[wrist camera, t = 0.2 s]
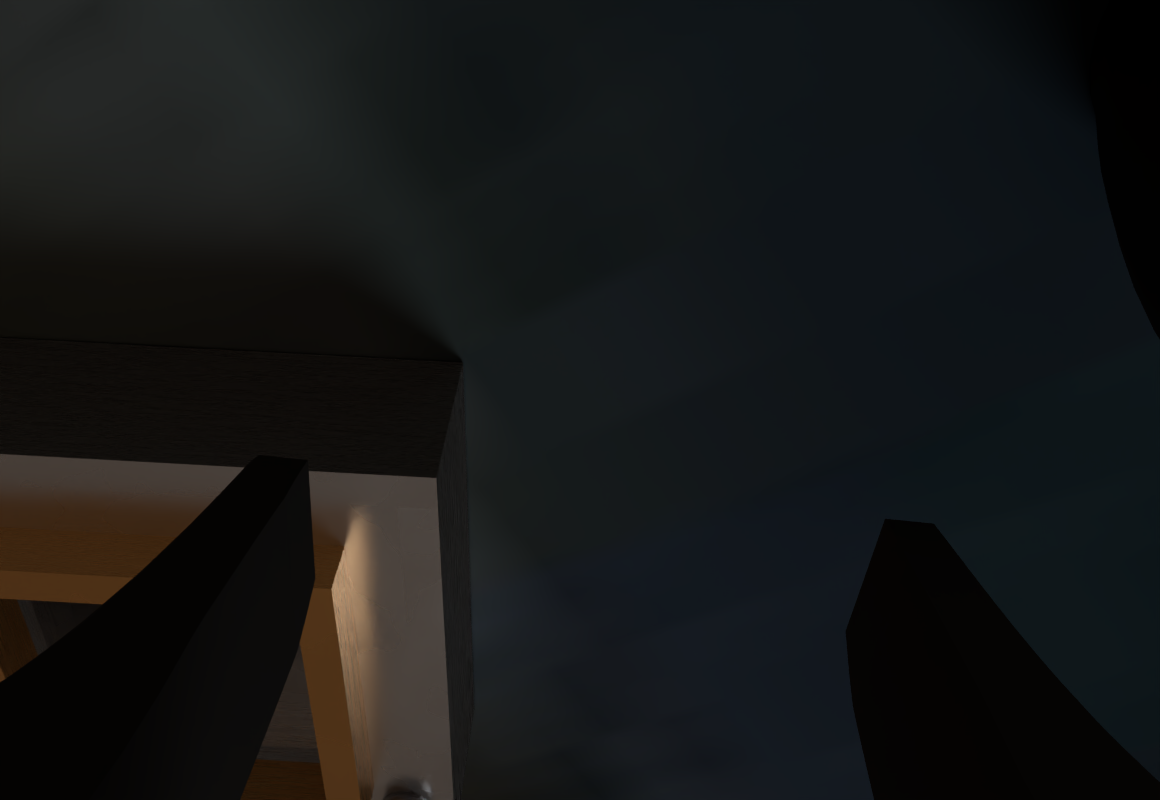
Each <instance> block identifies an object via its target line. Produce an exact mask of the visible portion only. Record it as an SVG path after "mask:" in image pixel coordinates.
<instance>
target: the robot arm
mask: <svg viewBox="0 0 1160 800" xmlns="http://www.w3.org/2000/svg"><path fill="white" fill-rule="evenodd" d="M314 583H315V563H314V547H313V532H312V516H311V500H310V484H309V468H308V460H303V459H293V458H283V457H273V456H264V455H258V456H257V457H255V458H254V459H253V460H251V461H250V462H249V463H248V464H247V465H246V466H245V467H244V469H243V470H242V471H241V472H240V473H239V474H238V475H237V476H236V477H235V478H234V479H233V480H232V481H231V482H230V483H229V484H228V486H227V487H226V488H225V489H224V490H223V491H222V492H221V493H220V494H219V495H218V496H217V497H216V498H215V499H214V500H213V501H212V502H211V503H210V504H209V505H208V506H207V507H206V508H205V509H204V510H203V511H202V512H201V514H200V515H199V516H198V517H197V518H196V519H195V520H194V521H193V522H192V523H191V524H190V525H189V526H188V527H187V528H186V529H185V530H184V531H182V532H181V533H180V534H179V535H178V536H177V537H176V538H175V539H174V540H173V541H172V542H171V543H170V544H169V545H168V546H167V547H166V548H165V549H164V550H163V551H162V552H161V553H159V554H158V555H157V556H156V557H155V558H154V559H153V560H152V561H151V562H150V563H149V564H148V565H147V566H146V567H145V568H144V569H143V570H141V571H140V572H139V573H138V574H137V575H136V576H135V577H134V578H132V579H131V580H130V581H129V582H128V583H127V584H125V585H124V586H123V587H122V588H121V589H120V590H119V591H117V592H116V593H115V594H114V595H113V596H112V597H110V598H109V599H108V600H107V601H106V602H105V603H103V604H102V605H101V606H100V607H99V608H98V609H97V610H95V611H94V612H93V613H92V614H91V615H89V616H88V617H87V618H86V619H85V620H83V621H82V622H81V623H80V624H78V625H77V626H76V627H75V628H73V629H72V630H71V631H70V632H68V633H67V634H66V635H64V636H63V637H62V638H61V639H59V640H58V641H57V642H55V643H54V644H53V645H51V646H50V647H49V648H47V649H46V650H45V651H43V652H42V653H41V654H39V655H38V656H37V657H35V658H34V659H32V660H31V661H30V662H28V663H27V664H26V665H24V666H23V667H22V668H20V669H19V670H17V671H16V672H14V673H13V674H12V675H10V676H9V677H7V678H6V679H4V680H3V681H1V682H0V800H240V799H241V796H242V794H243V791H244V789H245V786H246V784H247V781H248V778H249V776H250V773H251V771H252V768H253V766H254V763H255V760H256V758H257V755H258V753H259V750H260V748H261V745H262V742H263V740H264V737H265V735H266V732H267V730H268V727H269V724H270V722H271V719H272V717H273V714H274V712H275V709H276V706H277V704H278V701H279V699H280V696H281V693H282V691H283V688H284V685H285V683H286V680H287V678H288V675H289V672H290V670H291V667H292V664H293V662H294V659H295V656H296V654H297V651H298V647H299V643H300V639H301V635H302V631H303V628H304V624H305V620H306V616H307V612H308V607H309V603H310V599H311V595H312V591H313V587H314ZM846 640H847V652H848V663H849V675H850V684H851V693H852V702H853V708H854V713H855V718H856V722H857V727H858V731H859V736H860V740H861V745H862V749H863V753H864V758H865V762H866V767H867V771H868V775H869V779H870V784H871V788H872V792H873V796H874V800H1160V782H1159V781H1158V780H1157V779H1155V778H1154V777H1153V776H1152V775H1151V774H1150V773H1149V772H1148V771H1147V770H1146V769H1145V768H1144V767H1143V766H1142V765H1141V764H1140V763H1139V762H1138V761H1137V760H1135V759H1134V758H1133V757H1132V756H1131V755H1130V754H1129V753H1128V752H1127V751H1126V750H1125V749H1124V748H1123V747H1122V746H1121V745H1120V744H1119V743H1118V742H1117V741H1116V740H1115V739H1114V738H1113V737H1112V736H1111V735H1110V734H1109V733H1108V732H1107V731H1106V730H1105V729H1104V728H1103V727H1102V726H1101V725H1100V724H1099V723H1098V722H1097V721H1096V720H1095V719H1094V718H1093V717H1092V716H1091V714H1090V713H1089V712H1088V711H1087V710H1086V709H1085V708H1084V707H1083V706H1082V705H1081V704H1080V702H1079V701H1078V700H1077V699H1076V698H1075V697H1074V696H1073V695H1072V694H1071V693H1070V692H1069V691H1068V689H1067V688H1066V687H1065V686H1064V685H1063V684H1062V683H1061V682H1060V681H1059V680H1058V678H1057V677H1056V676H1055V675H1054V674H1053V673H1052V671H1051V670H1050V669H1049V668H1048V667H1047V666H1046V665H1045V663H1044V662H1043V661H1042V660H1041V659H1040V658H1039V656H1038V655H1037V654H1036V653H1035V652H1034V651H1033V649H1032V648H1031V647H1030V646H1029V645H1028V643H1027V642H1026V641H1025V640H1024V638H1023V637H1022V636H1021V635H1020V634H1019V632H1018V631H1017V630H1016V629H1015V628H1014V626H1013V625H1012V624H1011V623H1010V621H1009V620H1008V619H1007V618H1006V616H1005V615H1004V614H1003V613H1002V611H1001V610H1000V609H999V608H998V606H997V605H996V604H995V603H994V601H993V600H992V599H991V597H990V596H989V595H988V594H987V592H986V591H985V590H984V588H983V587H982V586H981V585H980V583H979V582H978V581H977V579H976V578H975V577H974V575H973V574H972V573H971V572H970V570H969V569H968V568H967V566H966V565H965V564H964V562H963V561H962V560H961V558H960V557H959V556H958V555H957V553H956V552H955V551H954V549H953V548H952V547H951V545H950V544H949V543H948V542H947V540H946V539H945V538H944V536H943V535H942V534H941V533H940V531H939V530H938V529H937V527H936V526H935V525H934V524H931V523H921V522H911V521H901V520H891V519H885V521H884V524H883V527H882V529H881V532H880V535H879V538H878V541H877V544H876V547H875V549H874V552H873V555H872V558H871V561H870V564H869V567H868V569H867V572H866V575H865V578H864V581H863V584H862V586H861V589H860V592H859V595H858V598H857V601H856V604H855V606H854V609H853V612H852V615H851V618H850V621H849V624H848V626H847V629H846Z"/></svg>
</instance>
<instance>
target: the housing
mask: <svg viewBox="0 0 1160 800" xmlns="http://www.w3.org/2000/svg"><path fill="white" fill-rule="evenodd" d="M258 455H264V456H273V457H283V458H293V459H303V460H308V468H309V484H310V500H311V516H312V532H313V547H314V563H315V583H314V587H313V591H312V595H311V599H310V603H309V607H308V612H307V616H306V620H305V624H304V628H303V631H302V635H301V639H300V643H299V647H298V651H297V654H296V656H295V659H294V662H293V664H292V667H291V670H290V672H289V675H288V678H287V680H286V683H285V685H284V688H283V691H282V693H281V696H280V699H279V701H278V704H277V706H276V709H275V712H274V714H273V717H272V719H271V722H270V724H269V727H268V730H267V732H266V735H265V737H264V740H263V742H262V745H261V748H260V750H259V753H258V755H257V758H256V760H255V763H254V766H253V768H252V771H251V773H250V776H249V778H248V781H247V784H246V786H245V789H244V791H243V794H242V796H241V799H240V800H461V794H462V788H463V781H464V774H465V767H466V761H467V754H468V747H469V740H470V734H471V727H472V720H473V713H474V690H473V659H472V628H471V596H470V565H469V534H468V503H467V472H466V441H465V409H464V378H463V363H462V362H443V361H425V360H406V359H387V358H369V357H350V356H332V355H313V354H294V353H276V352H257V351H239V350H220V349H201V348H183V347H164V346H146V345H127V344H108V343H90V342H71V341H53V340H34V339H15V338H0V682H1V681H3V680H4V679H6V678H7V677H9V676H10V675H12V674H13V673H14V672H16V671H17V670H19V669H20V668H22V667H23V666H24V665H26V664H27V663H28V662H30V661H31V660H32V659H34V658H35V657H37V656H38V655H39V654H41V653H42V652H43V651H45V650H46V649H47V648H49V647H50V646H51V645H53V644H54V643H55V642H57V641H58V640H59V639H61V638H62V637H63V636H64V635H66V634H67V633H68V632H70V631H71V630H72V629H73V628H75V627H76V626H77V625H78V624H80V623H81V622H82V621H83V620H85V619H86V618H87V617H88V616H89V615H91V614H92V613H93V612H94V611H95V610H97V609H98V608H99V607H100V606H101V605H102V604H103V603H105V602H106V601H107V600H108V599H109V598H110V597H112V596H113V595H114V594H115V593H116V592H117V591H119V590H120V589H121V588H122V587H123V586H124V585H125V584H127V583H128V582H129V581H130V580H131V579H132V578H134V577H135V576H136V575H137V574H138V573H139V572H140V571H141V570H143V569H144V568H145V567H146V566H147V565H148V564H149V563H150V562H151V561H152V560H153V559H154V558H155V557H156V556H157V555H158V554H159V553H161V552H162V551H163V550H164V549H165V548H166V547H167V546H168V545H169V544H170V543H171V542H172V541H173V540H174V539H175V538H176V537H177V536H178V535H179V534H180V533H181V532H182V531H184V530H185V529H186V528H187V527H188V526H189V525H190V524H191V523H192V522H193V521H194V520H195V519H196V518H197V517H198V516H199V515H200V514H201V512H202V511H203V510H204V509H205V508H206V507H207V506H208V505H209V504H210V503H211V502H212V501H213V500H214V499H215V498H216V497H217V496H218V495H219V494H220V493H221V492H222V491H223V490H224V489H225V488H226V487H227V486H228V484H229V483H230V482H231V481H232V480H233V479H234V478H235V477H236V476H237V475H238V474H239V473H240V472H241V471H242V470H243V469H244V467H245V466H246V465H247V464H248V463H249V462H250V461H251V460H253V459H254V458H255V457H257V456H258Z"/></svg>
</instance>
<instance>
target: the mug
mask: <svg viewBox="0 0 1160 800" xmlns="http://www.w3.org/2000/svg"><path fill="white" fill-rule="evenodd" d="M1090 94H1091V98H1092V102H1093V106H1094V110H1095V114H1096V125H1097V139H1098V150H1099V158H1100V166H1101V173H1102V177H1103V182H1104V186H1105V190H1106V195H1107V199H1108V203H1109V207H1110V211H1111V215H1112V218H1113V222H1114V226H1115V230H1116V233H1117V237H1118V241H1119V245H1120V248H1121V251H1122V254H1123V257H1124V260H1125V263H1126V266H1127V268H1128V271H1129V274H1130V277H1131V280H1132V283H1133V286H1134V288H1135V291H1136V293H1137V295H1138V297H1139V299H1140V301H1141V303H1142V305H1143V308H1144V310H1145V312H1146V314H1147V316H1148V318H1149V320H1150V323H1151V325H1152V327H1153V329H1154V331H1155V333H1156V334H1157V336H1158V337H1159V339H1160V0H1111V1H1110V3H1109V6H1108V8H1107V10H1106V12H1105V14H1104V16H1103V18H1102V20H1101V23H1100V25H1099V28H1098V32H1097V36H1096V40H1095V44H1094V48H1093V52H1092V57H1091V61H1090Z"/></svg>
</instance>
